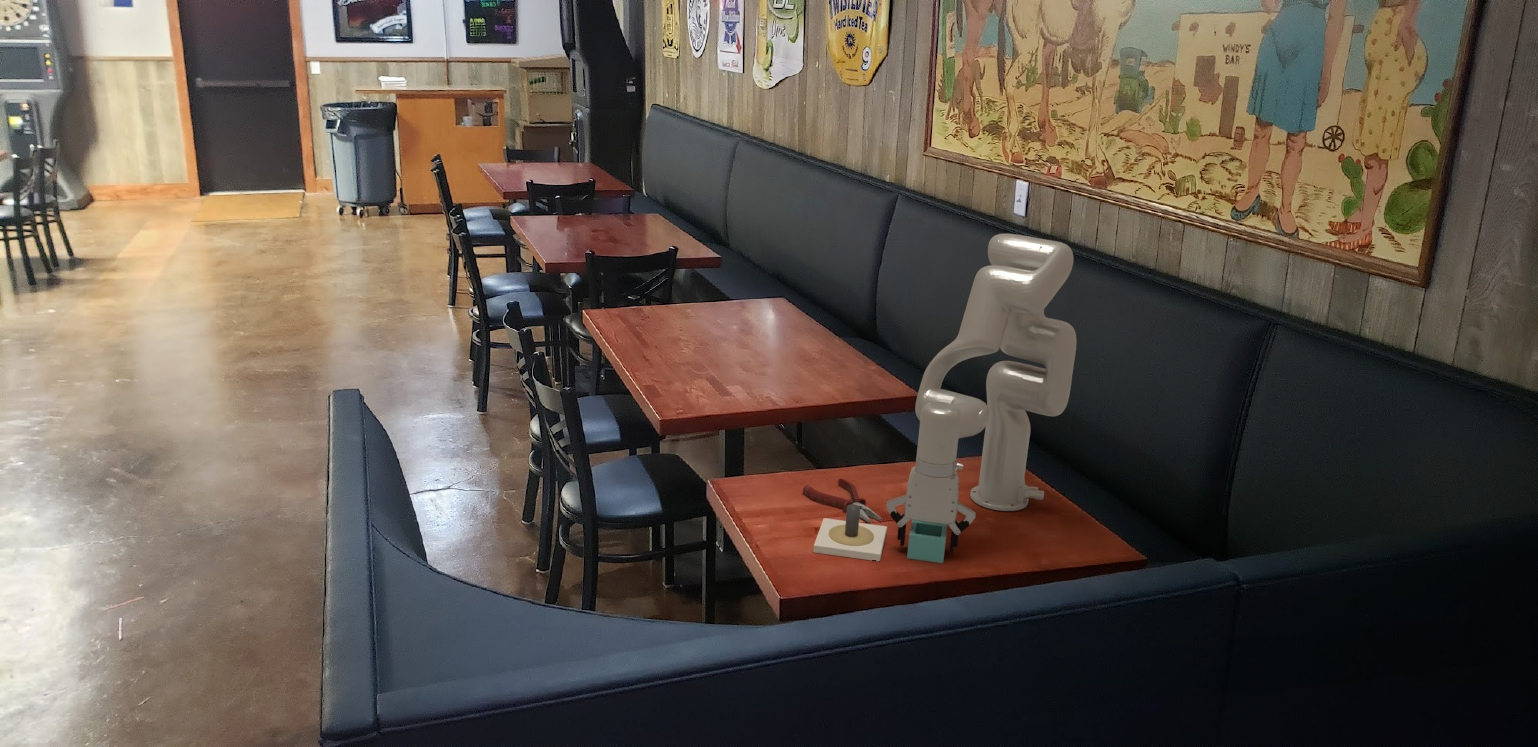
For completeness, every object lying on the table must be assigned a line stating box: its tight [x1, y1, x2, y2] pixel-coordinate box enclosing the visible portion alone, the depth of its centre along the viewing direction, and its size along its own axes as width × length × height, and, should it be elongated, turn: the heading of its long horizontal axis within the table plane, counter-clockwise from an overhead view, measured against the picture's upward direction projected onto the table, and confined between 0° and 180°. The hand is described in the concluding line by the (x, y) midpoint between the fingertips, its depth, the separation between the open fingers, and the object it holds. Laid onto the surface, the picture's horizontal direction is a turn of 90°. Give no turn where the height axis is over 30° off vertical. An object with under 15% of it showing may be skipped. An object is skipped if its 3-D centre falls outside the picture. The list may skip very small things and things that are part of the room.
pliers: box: [802, 478, 883, 524], centre depth 243 cm, size 12×20×3 cm, turn 32°
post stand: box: [812, 504, 888, 562], centre depth 225 cm, size 13×13×8 cm
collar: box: [906, 520, 948, 564], centre depth 223 cm, size 7×7×5 cm
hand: (926, 546), depth 223 cm, fingers open, 9 cm apart
